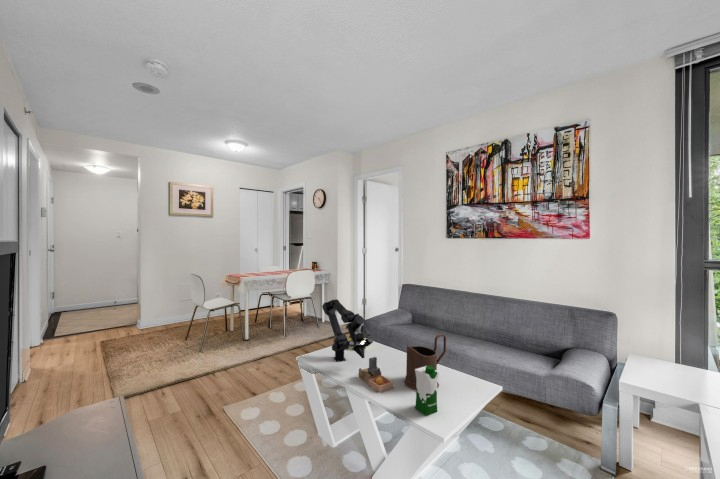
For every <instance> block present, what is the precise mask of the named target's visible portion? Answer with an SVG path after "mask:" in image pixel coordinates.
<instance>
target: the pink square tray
mask: <svg viewBox="0 0 720 479" xmlns="http://www.w3.org/2000/svg"><path fill="white" fill-rule="evenodd" d="M379 377H381V378H383V381H384V382H383V384H382V385H377V383H376V379H377V378H378V377H375V378H372V379H369V380H368V384H367V385H368V386H369V387H370V388H372V389H373V390H375V391H376V392H377V393H383V392H385V391H388V390H391V389H393V388H394V381H392V380H391V379H389V378H387V377H386V376H384V375H381V376H379Z"/></svg>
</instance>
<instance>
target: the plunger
mask: <svg viewBox="0 0 720 479" xmlns="http://www.w3.org/2000/svg"><path fill="white" fill-rule="evenodd" d="M377 360H378V359H377V356H373V357H370V358H368V367H367V368H368V373H369V374H370V375H371V376H372V377H373V376H376V375H380V371H381V368H379V367H378V364H377V362H378V361H377Z"/></svg>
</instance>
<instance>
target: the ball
mask: <svg viewBox="0 0 720 479" xmlns="http://www.w3.org/2000/svg"><path fill="white" fill-rule="evenodd" d="M383 382H384V381H383V378H381V377H378V378H377V379H376V383H377V385H382V384H383Z"/></svg>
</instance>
